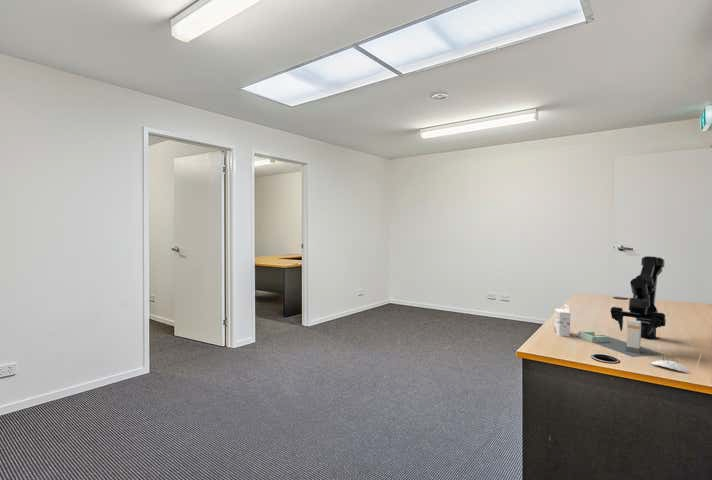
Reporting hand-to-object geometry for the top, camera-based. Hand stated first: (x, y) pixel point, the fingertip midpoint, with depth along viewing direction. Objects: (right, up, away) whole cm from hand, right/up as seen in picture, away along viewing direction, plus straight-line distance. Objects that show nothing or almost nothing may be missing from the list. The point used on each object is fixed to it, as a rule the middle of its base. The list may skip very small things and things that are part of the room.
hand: (634, 332), depth 163 cm
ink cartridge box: (-16, -7, +26) cm, 32 cm away
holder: (-6, -7, +17) cm, 20 cm away
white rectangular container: (0, -8, 0) cm, 8 cm away
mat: (-1, -8, +9) cm, 12 cm away
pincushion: (-1, -9, -19) cm, 22 cm away
